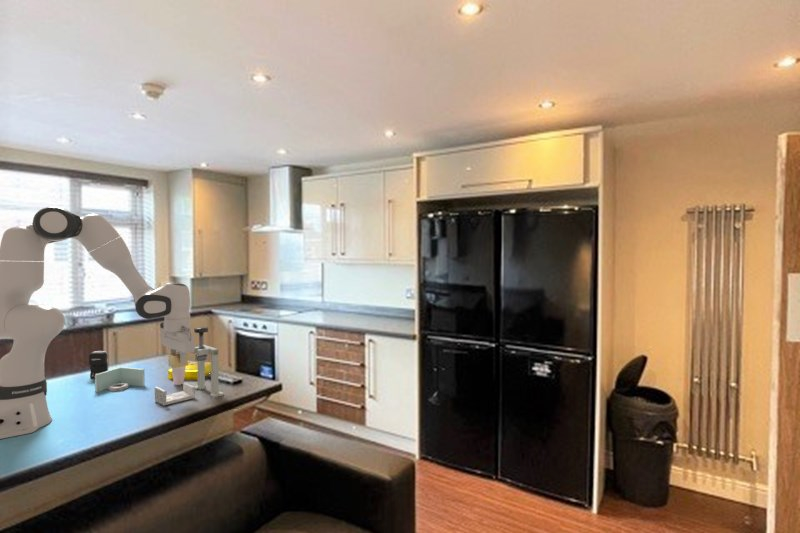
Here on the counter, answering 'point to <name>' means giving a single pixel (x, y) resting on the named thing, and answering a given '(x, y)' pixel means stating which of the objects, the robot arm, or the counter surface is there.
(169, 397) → the bed
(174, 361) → the tan wooden cube
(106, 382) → the l-shaped corner panel
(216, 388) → the press frame
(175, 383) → the smoothie
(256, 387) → the counter surface
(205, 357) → the ram
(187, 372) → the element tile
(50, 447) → the counter surface
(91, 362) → the black backpack
